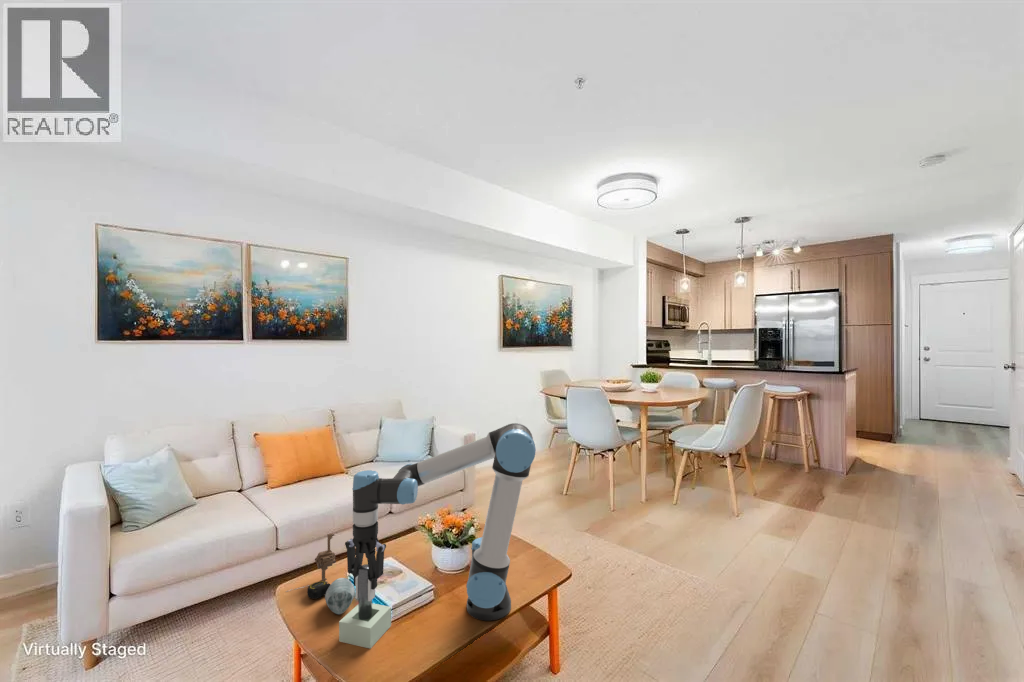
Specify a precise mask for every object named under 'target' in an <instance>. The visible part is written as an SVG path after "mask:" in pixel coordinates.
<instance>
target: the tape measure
mask: <svg viewBox="0 0 1024 682" xmlns="http://www.w3.org/2000/svg"><path fill="white" fill-rule="evenodd" d="M331 584H332V583H329V582H328V583H326V582H324V581H322V580H321V581H316V582H313V583H311V584H310V586H309V585H308V586H307V597H308V598H309V599H313V600H317V599H319V598H321V597H323V596H325V595H326V591H327V589H328V588H329V586H330V585H331Z"/></svg>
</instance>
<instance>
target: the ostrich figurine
mask: <svg viewBox="0 0 1024 682" xmlns="http://www.w3.org/2000/svg"><path fill="white" fill-rule="evenodd" d="M333 536H335V533H334V532H331V533H327V550H324V551H319V552H318V553H317V556H315V558H314V563H316V565H317V569H318V570H321V581H324V582H326V583H327V584H328V583H329V582H328V581H327V577H326V571H327V570H328V568H329V567H331V566H333V564H335V563H336V553H335V552H333V551H332V549H331V540H332V539H333ZM310 585H311V584H310ZM310 585H306V586H304V585H303V586H302V587H298V588H294V591H295V590H299V589H303V588H305V587H307V588H308V587H309V586H310ZM291 591H293V588H291V589H289V592H291ZM285 592H286V593H287V590H286V591H285Z"/></svg>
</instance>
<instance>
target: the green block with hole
mask: <svg viewBox="0 0 1024 682" xmlns="http://www.w3.org/2000/svg"><path fill="white" fill-rule="evenodd" d="M391 627H392V606H389V605H383V604H379V603H374V602H372V616H371V617H370V618H369V619H366V620H360V619H359V618H358V604H356V605H355V607H354V608H352V609H351V610H350V611H349V612H348V613H347V614H345V616H343V618H341V619H340V620H339V621H338V640H339V641H338V642H341V643H344V644H350V645H353V646H358V647H362V648H366V649H370V650H371V649H372V648H373V647H374V646H375V644H376V643H377V642H378V641H379V640H380V639H381V637H382V636H384V634H385V633H386V632H387V631H388V630H389V629H390V628H391Z"/></svg>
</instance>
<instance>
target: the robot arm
mask: <svg viewBox="0 0 1024 682" xmlns="http://www.w3.org/2000/svg"><path fill="white" fill-rule="evenodd" d="M535 457H536V444H535V441H534V437H533V434H532V433H531V430H530V429H529V428H528V427H527V426H526V425H524V424H521V423H516V422H514V423H508V424H506V425H503V426H502V427H499V428H497V429H495V430H492V431H490V432H488V433H487V435H486V436H484V437H482V438H479V439H477V440H475V441H472V442H469V443H466V444H464V445H461V446H458V447H455V448H453V449H451V450H447V451H445V452H442V453H439V454H437V455H434V456H432V457H429V458H426V459H424V460H422V461H421V460H420V461H418V462H416V463H407V464H405V465H404V466H402V467H401V468H400V469H398V471H397V473H396V474H395V475H394V476H393V477H392V478H382V477H381V478H380V476H379V473H378V471H376V470H371V469H369V470H362V471H358V472H357V473H355V474H354V475H353V477H352V478H353V480H352V481H353V482H352V537H353V538H349V539H348V540H347V541H345V543H344V545H345V547H346V560H347V564H346V565H347V573H348V574H351V575H352V577H353V586H354V588H355V595H354V598H355V599H356V600H357V599H358V600H359V567H360V566H362V565H363V560H364V555H365V558H366V559H367V564H368V567H369V574H370V579H368V601H371V600H372V601H373V599H374V598H375V597H376V589H377V587H378V579H379V578H381V577H382V576H383V575H384V567H385V566H384V564H385V563H384V562H385V550H386V548H387V544H386V543H383V544H382V543H380V542H379V538H378V534H379V504H380V505H383V504H384V505H409V504H410V505H411V504H414V503H415V502H416V501H417V497H418V493H419V492H418V491H419V487H420V486H424V485H425V484H427V483H430V482H434V481H436V480H439V479H441V478H444V477H446V476H449V475H452V474H455V473H458V472H460V471H463V470H465V469H468V468H471V467H474V466H477V465H480V464H482V463H484V462H487V461H490V460H493V462H492V466H491V468H492V471H493V472H494V473H495V476H494V481H493V485H492V490H491V495H490V499H489V504H488V509H487V513H486V518H485V524H484V527H483V532H482V536H480V537H478V538H476V539H474V540H472V542H471V559H470V568H469V573H468V578H467V582H466V585H465V586H466V594H467V599H466V611H467V613H468V614H469V615H470V616H471V617H472V618H473V619H477V620H480V621H486V622H491V621H496V620H500V619H502V618H504V617H505V616H507V615H508V614H509V613H510V611H511V609H512V598H511V595H510V592H509V589H508V586H507V577H508V573H509V568H510V565H511V559H510V557H509V555H508V549H509V545H510V541H511V536H512V532H513V527H514V521H515V517H516V512H517V508H518V505H519V504H518V503H519V499H520V494H521V489H522V485H523V481H524V480H525V479H527V478H528V477H529V475H530V472H531V466H532V464H533V463H534V460H535Z"/></svg>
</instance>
